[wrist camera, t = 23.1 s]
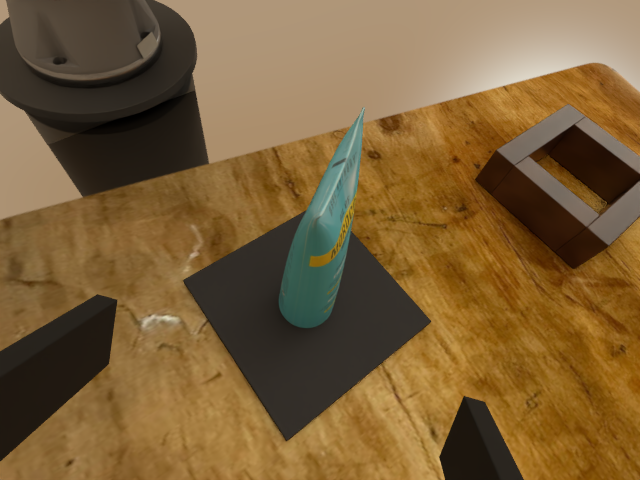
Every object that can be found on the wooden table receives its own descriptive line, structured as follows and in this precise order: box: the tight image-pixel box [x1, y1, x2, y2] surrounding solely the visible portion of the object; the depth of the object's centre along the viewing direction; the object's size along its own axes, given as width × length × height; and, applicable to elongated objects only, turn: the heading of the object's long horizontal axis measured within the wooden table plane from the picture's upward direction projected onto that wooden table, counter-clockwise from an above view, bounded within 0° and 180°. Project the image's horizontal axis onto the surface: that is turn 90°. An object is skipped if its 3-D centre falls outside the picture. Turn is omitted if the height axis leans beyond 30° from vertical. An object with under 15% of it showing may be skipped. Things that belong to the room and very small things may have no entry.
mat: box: [183, 210, 431, 441], centre depth 36 cm, size 16×16×1 cm
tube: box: [279, 107, 365, 328], centre depth 27 cm, size 7×5×19 cm, turn 167°
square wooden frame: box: [475, 104, 640, 269], centre depth 44 cm, size 14×14×5 cm
